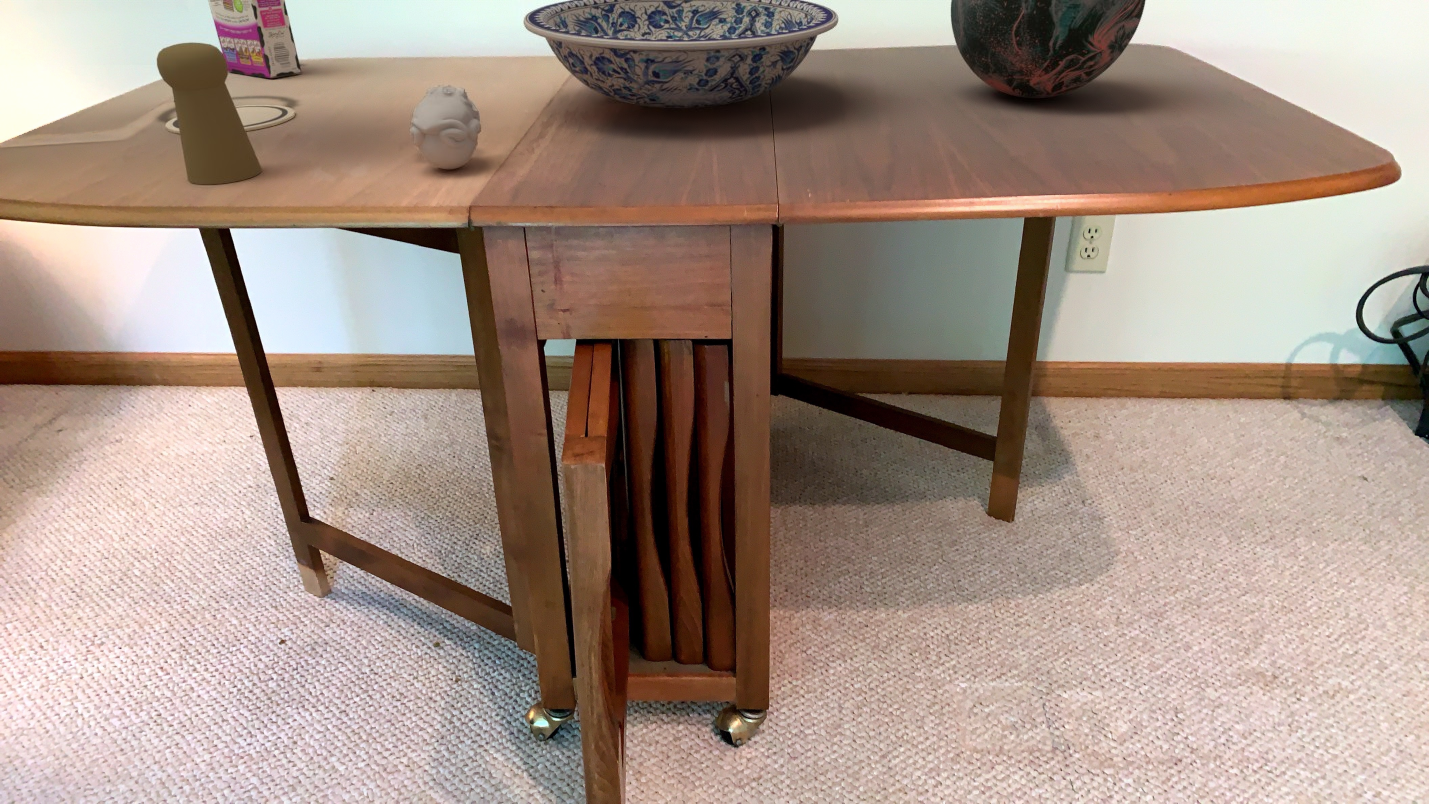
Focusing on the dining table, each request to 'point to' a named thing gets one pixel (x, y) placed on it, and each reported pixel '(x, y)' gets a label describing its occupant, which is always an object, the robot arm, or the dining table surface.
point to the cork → (207, 115)
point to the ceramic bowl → (681, 46)
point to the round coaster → (252, 117)
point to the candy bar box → (256, 37)
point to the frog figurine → (446, 127)
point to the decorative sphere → (1042, 41)
